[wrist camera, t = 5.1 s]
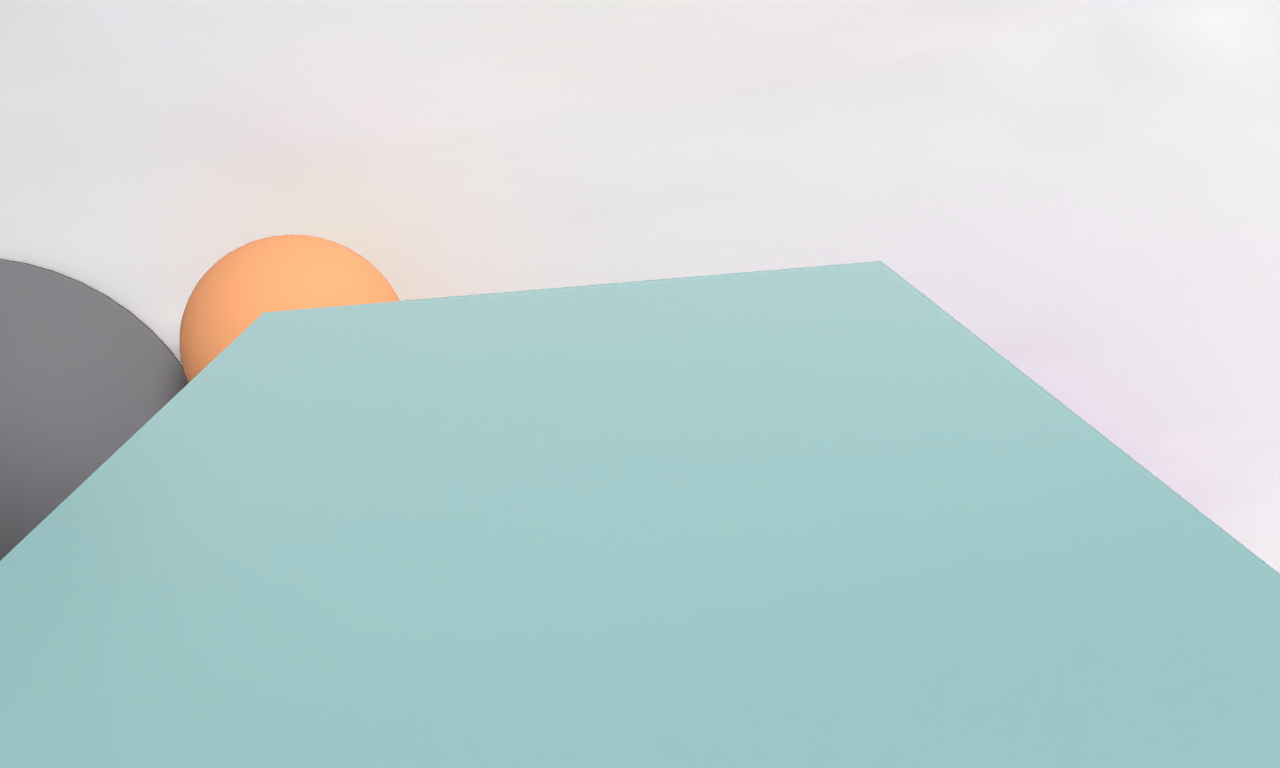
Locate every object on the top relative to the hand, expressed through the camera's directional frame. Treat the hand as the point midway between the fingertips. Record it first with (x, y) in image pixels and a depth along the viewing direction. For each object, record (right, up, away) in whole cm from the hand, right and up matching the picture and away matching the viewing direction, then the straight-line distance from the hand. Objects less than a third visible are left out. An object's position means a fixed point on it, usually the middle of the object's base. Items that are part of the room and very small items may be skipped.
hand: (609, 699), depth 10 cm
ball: (-8, +4, +12) cm, 15 cm away
